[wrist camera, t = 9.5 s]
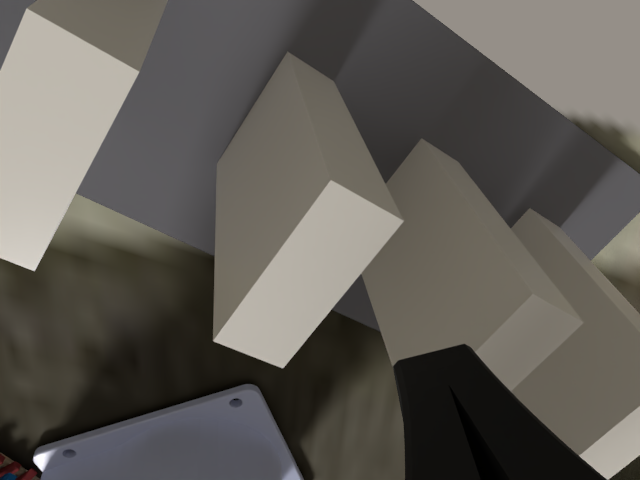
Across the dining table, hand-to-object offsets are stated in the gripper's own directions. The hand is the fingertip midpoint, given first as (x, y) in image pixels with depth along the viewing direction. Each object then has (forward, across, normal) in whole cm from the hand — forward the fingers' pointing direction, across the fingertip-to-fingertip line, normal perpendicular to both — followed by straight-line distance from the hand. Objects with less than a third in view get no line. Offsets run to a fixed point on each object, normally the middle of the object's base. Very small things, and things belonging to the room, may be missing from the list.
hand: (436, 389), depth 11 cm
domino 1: (+10, +5, -6) cm, 12 cm away
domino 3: (+10, -2, +2) cm, 10 cm away
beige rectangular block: (+10, -5, +5) cm, 12 cm away
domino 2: (+10, +2, -2) cm, 10 cm away
